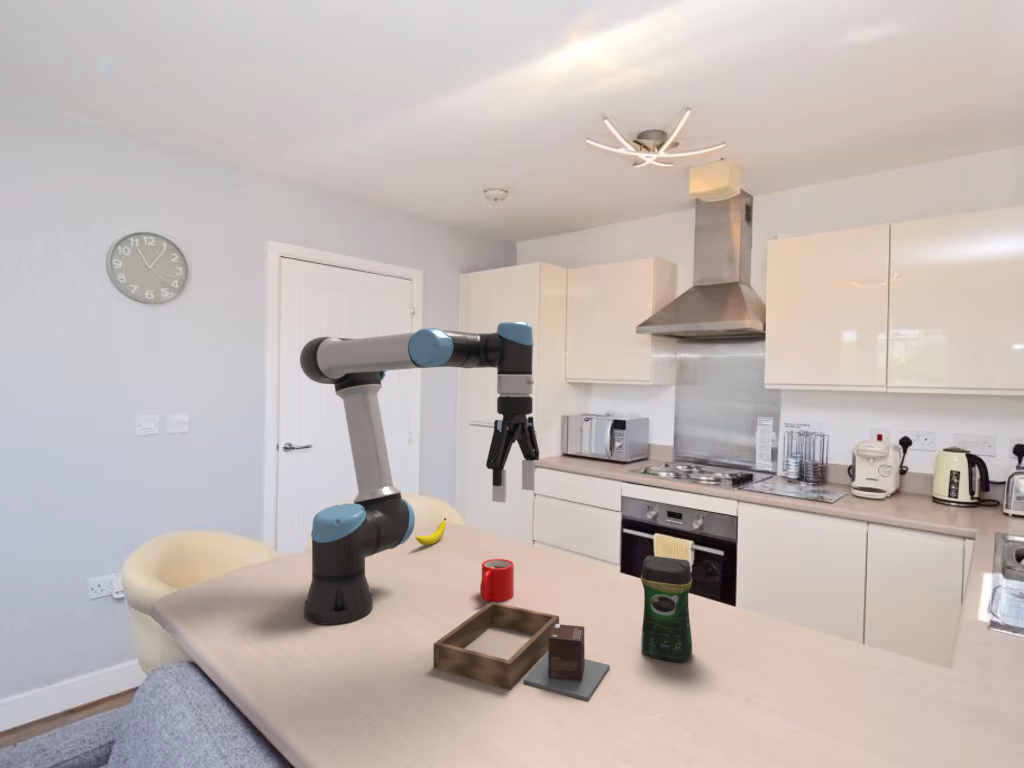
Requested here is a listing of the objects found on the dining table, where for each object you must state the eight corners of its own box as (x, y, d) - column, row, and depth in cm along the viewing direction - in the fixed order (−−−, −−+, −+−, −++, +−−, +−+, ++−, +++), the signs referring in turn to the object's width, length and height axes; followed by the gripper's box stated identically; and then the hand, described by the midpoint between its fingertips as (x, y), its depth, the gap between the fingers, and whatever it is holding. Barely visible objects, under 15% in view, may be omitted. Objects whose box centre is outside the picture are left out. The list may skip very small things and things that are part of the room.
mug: (468, 604, 134) (468, 571, 134) (490, 587, 145) (490, 557, 145) (498, 610, 131) (498, 576, 131) (518, 592, 142) (518, 561, 142)
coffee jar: (694, 648, 113) (694, 555, 113) (689, 667, 106) (690, 568, 105) (645, 639, 117) (645, 549, 117) (637, 656, 110) (637, 561, 109)
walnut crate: (433, 667, 105) (433, 643, 105) (491, 622, 125) (491, 601, 124) (510, 689, 98) (510, 664, 98) (559, 637, 117) (559, 616, 117)
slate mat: (523, 683, 100) (523, 679, 100) (550, 653, 111) (550, 650, 111) (587, 701, 94) (587, 697, 94) (609, 668, 105) (609, 665, 105)
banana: (411, 552, 173) (411, 532, 173) (441, 536, 191) (441, 517, 191) (419, 553, 172) (419, 533, 172) (449, 537, 190) (449, 518, 190)
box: (581, 682, 99) (581, 641, 99) (547, 678, 100) (547, 637, 100) (584, 665, 105) (585, 626, 105) (552, 661, 106) (552, 622, 106)
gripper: (502, 397, 107) (502, 509, 108) (554, 394, 130) (553, 486, 130) (468, 396, 111) (468, 505, 111) (524, 393, 133) (524, 483, 133)
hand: (514, 495), depth 120 cm, fingers open, 13 cm apart
